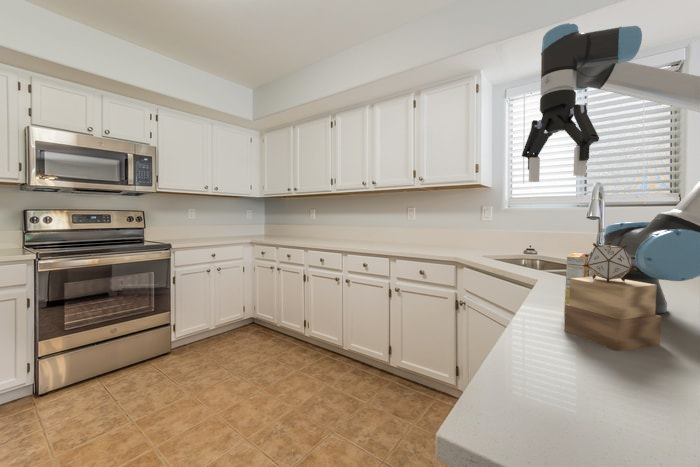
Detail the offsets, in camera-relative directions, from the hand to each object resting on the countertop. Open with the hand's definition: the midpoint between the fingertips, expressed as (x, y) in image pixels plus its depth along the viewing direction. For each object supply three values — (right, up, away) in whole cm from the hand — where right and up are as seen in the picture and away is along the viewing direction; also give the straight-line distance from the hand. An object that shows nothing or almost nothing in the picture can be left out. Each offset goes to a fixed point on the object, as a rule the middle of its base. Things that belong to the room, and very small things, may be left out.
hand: (554, 179), depth 80 cm
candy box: (+6, -35, +1) cm, 35 cm away
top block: (+2, -30, -15) cm, 33 cm away
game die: (+2, -24, -15) cm, 28 cm away
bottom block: (+2, -36, -14) cm, 39 cm away
